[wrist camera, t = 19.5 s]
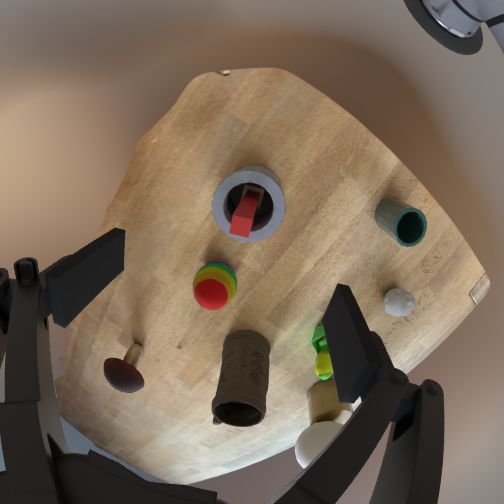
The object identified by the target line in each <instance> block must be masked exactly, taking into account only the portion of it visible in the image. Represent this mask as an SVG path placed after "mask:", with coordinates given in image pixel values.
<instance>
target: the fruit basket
mask: <svg viewBox="0 0 504 504" xmlns="http://www.w3.org/2000/svg"><path fill="white" fill-rule="evenodd" d="M311 342H312V344H313V346H314V348H315V350H316V352H317V354H318V355H317V357H316V361H315V363H316V368H315V372H316V374H317V375H318V377H320V378H321V379H323V380H326V379H328V378H329V377H330V376H331V375H332V374H333V368H332V363H331V359H330V354H329V350H328V345H327V341H326V336H325V332H324V328H323V324H322V325H321V326H317V327H315V331H314V336H313V338H312V341H311Z"/></svg>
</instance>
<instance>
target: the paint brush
mask: <svg viewBox="0 0 504 504" xmlns="http://www.w3.org/2000/svg"><path fill="white" fill-rule="evenodd" d="M264 191H265V188H264V187H262V186H260V185H259V184H256V183H251V182H247V183H246V184H245V186H244V191H243V195H242V199H241V202H240V204H239V205H238V207H237V209H236V211H235V212H234V214H233V217H232V221H231V226H230V230H229V234H233V235H237V236H241V237H245V238H249V235H250V231H251V227H252V223H253V219H254V215H255V211H256V208H259V209H260V207H261V203H262V199H263V195H264Z"/></svg>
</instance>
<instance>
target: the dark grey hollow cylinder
mask: <svg viewBox="0 0 504 504" xmlns="http://www.w3.org/2000/svg"><path fill="white" fill-rule="evenodd" d="M269 353H270V345H269V343H268V341H267V340H266V339H265V338H264V337H263V336H262V335H260V334H258V333H256V332H252V331H245V330H244V331H237V332H234V333H232V334H230V335H229V336H228V337H227V338H226V340H225V341H224V345H223V352H222V366H221V372H220V377H219V382H218V387H217V391H216V396H215V397H214V399H213V400H212V413H213V415H214V418H213V424H215V425H219V424H221V423H222V422H223V423H225V424H228V425H231V426H237V427H248V426H253V425H256V424H258V423H260V422H261V421H262V420H263V419H264V416H265V413H266V393H267V391H268V384H269Z"/></svg>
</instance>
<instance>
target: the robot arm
mask: <svg viewBox="0 0 504 504" xmlns="http://www.w3.org/2000/svg"><path fill="white" fill-rule="evenodd" d="M420 3H421V5H422V7H423V8H424V10H425V11H426V13H427V14H428V16H429V17H430V18H431V19H432V20H433V21H434V22H435V23H436V24H437V25H438V26H439V27H440V28H441V29H443V30H444V31H445V32H447V33H448V34H450V35H452V36H454V37H456V38H459V39H466V38H469V37H471V36H473V35H474V33H475V32H476V31H477V29H478V28H479V26H480V25H481V23H482V22H485V23H486V24H487V25H488V27H489V29H490V30H491V32H492V34H493V35H494V37H495V39H496V41H497V42H498V44H499V46H500V48H501V49H502V51H503V53H504V0H420ZM124 248H125V230H123V229H119V228H114V229H112V230H110V231H109V232H107V233H105V234H104V235H102V236H101V237H99V238H97V239H96V240H94V241H93V242H91V243H89V244H88V245H86V246H85V247H83V248H82V249H80V250H79V251H77V252H76V253H74V254H73V255H68V256H65V257H63V258H61V259H60V260H58V261H57V262H55V263H54V264H52V265H51V266H49V267H48V268H46V269H45V270H43V271H42V272H41V273H39V270H38V263H37V260H36V259H34V258H28V257H27V258H22V259H19V260H18V261H16V262H15V264H14V270H15V275H16V279H10V278H9V275H8V271H7V270H6V269H5V268H0V368H1V364H2V361H3V358H4V355H5V352H6V359H5V402H4V403H0V435H1V443H2V450H3V456H4V462H5V467H6V471H1V472H0V504H229V503H227V502H225V501H223V500H221V499H218V498H217V492H214V491H209V490H204V489H199V488H195V487H191V486H187V485H178V484H165V483H155V482H149V481H146V480H144V479H143V478H141V477H139V476H138V475H136V474H135V473H133V472H132V471H130V470H129V469H127V468H126V467H124V466H123V465H121V464H120V463H118V462H116V461H114V460H111V459H109V458H107V457H105V456H103V455H100V454H98V453H96V452H94V451H92V450H89V452H88V455H85V454H79V453H71V452H70V450H69V447H68V445H67V443H66V440H65V437H64V434H63V430H62V425H61V421H60V416H59V412H58V406H57V401H56V395H55V389H54V382H53V375H52V366H51V355H50V341H49V322H48V318H47V317H48V316H49V315H50V314H51V313H52V316H53V320H54V323H56V324H58V325H60V326H62V327H64V328H66V327H67V326H68V324H69V323H70V322H71V321H72V320H73V319H74V318H75V317H76V316H77V315H78V314H79V313H80V312H81V311H82V310H83V309H84V308H85V307H86V306H87V305H88V304H89V303H90V302H91V301H92V300H93V299H94V298H95V297H96V296H97V295H98V294H99V293H100V292H101V291H102V290H103V289H104V288H105V287H106V286H107V285H108V284H109V283H110V282H111V281H112V280H114V279H115V278H116V277H117V276H118V275H119V274H120V273H121V272H122V271H123V270H124ZM322 323H323V328H324V332H325V336H326V341H327V345H328V350H329V354H330V359H331V363H332V368H333V373H334V378H335V383H336V388H337V393H338V398H339V403H355V401H356V400H357V399H358V397H359V396H360V397H361V401H362V402H361V404H360V405H359V406H358V407H357V408H356V410H355V411H354V412H353V413H352V414H351V417H350V418H349V419H348V420H347V422H346V423H345V424H344V425H343V427H342V428H341V429H340V430H339V431H338V433H337V434H336V435H335V436H334V437H333V438H332V440H331V441H330V442H329V443H328V444H327V445H326V446H325V448H324V449H323V450H322V451H321V452H320V453H319V454H318V455H317V456H316V457H315V458H314V459H313V460H312V461H311V463H310V464H309V465H308V466H307V467H306V468H305V469H304V470H303V471H302V472H301V473H300V474H299V475H298V476H296V478H295V479H293V480H292V481H291V482H290V483H289V484H288V485H287V486H286V487H285V488H283V489H282V490H281V491H280V492H279V493H278V494H277V495H276V496H274V497H273V498H272V499H271V500H270V501H268V502H267V503H266V504H335V503H336V501H337V500H338V499H339V498H340V497H341V496H342V494H343V493H344V492H345V490H346V489H347V488H348V487H349V485H350V484H351V483H352V481H353V480H354V478H355V477H356V476H357V474H358V473H359V472H360V470H361V469H362V467H363V466H364V464H365V463H366V461H367V460H368V458H369V457H370V455H371V454H372V452H373V450H374V449H375V447H376V446H377V444H378V442H379V441H380V439H381V437H382V436H383V434H384V432H385V430H386V429H387V427H388V425H389V423H390V421H391V422H392V423H391V428H390V433H389V437H388V442H387V446H386V451H385V454H384V458H383V461H382V465H381V469H380V472H379V475H378V479H377V482H376V485H375V488H374V491H373V494H372V496H371V499H370V502H369V504H437V502H438V497H439V490H440V483H441V475H442V465H443V452H444V394H443V389H442V388H441V386H440V385H439V384H438V383H437V382H435V381H433V380H430V379H427V380H425V381H424V382H423V383H422V384H421V385H420V386H418V385H415V384H412V383H409V380H408V377H407V376H406V374H405V373H404V372H402V371H401V370H399V369H397V368H394V366H393V364H392V361H391V359H390V357H389V355H388V352H386V348H385V346H384V344H383V342H382V339H381V338H380V337H379V336H378V334H377V333H376V332H374V331H370V330H369V328H368V326H367V323H366V321H365V319H364V317H363V314H362V312H361V310H360V308H359V306H358V304H357V302H356V299H355V297H354V295H353V293H352V291H351V289H350V287H349V286H347V285H343V284H339V283H338V284H337V286H336V288H335V291H334V293H333V296H332V298H331V300H330V303H329V305H328V307H327V310H326V312H325V314H324V316H323V319H322Z"/></svg>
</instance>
